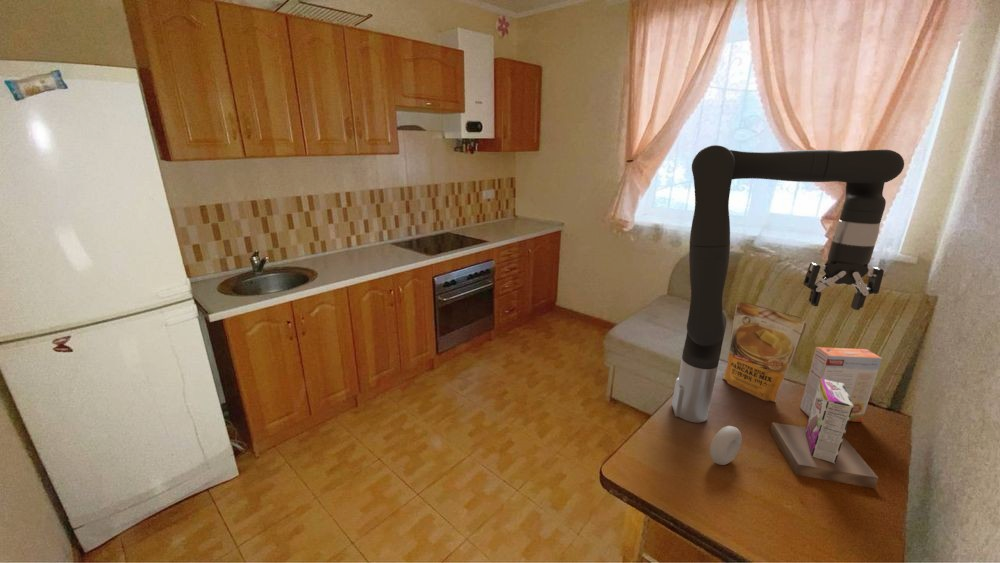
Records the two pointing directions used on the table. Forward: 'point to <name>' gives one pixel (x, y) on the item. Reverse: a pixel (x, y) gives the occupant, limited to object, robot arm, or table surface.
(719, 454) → the white oval stone
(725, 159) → the robot arm
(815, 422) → the candy bar box
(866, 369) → the cracker box
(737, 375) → the pancake mix bag
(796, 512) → the table surface
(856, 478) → the metal panel
